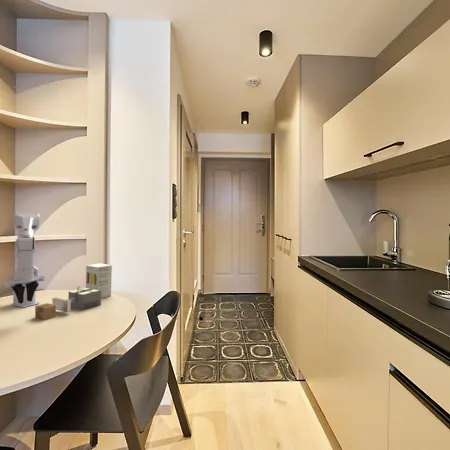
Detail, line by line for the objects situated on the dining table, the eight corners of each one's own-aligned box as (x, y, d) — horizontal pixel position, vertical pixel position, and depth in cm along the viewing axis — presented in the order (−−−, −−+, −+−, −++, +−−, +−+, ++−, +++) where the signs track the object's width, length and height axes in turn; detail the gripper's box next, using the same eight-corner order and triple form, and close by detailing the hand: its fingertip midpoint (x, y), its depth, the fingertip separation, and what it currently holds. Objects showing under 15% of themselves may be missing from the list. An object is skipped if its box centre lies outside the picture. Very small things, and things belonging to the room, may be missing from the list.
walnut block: (35, 317, 132) (35, 305, 132) (46, 314, 136) (46, 303, 136) (44, 320, 129) (44, 308, 129) (55, 316, 134) (55, 305, 134)
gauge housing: (83, 310, 144) (83, 294, 143) (68, 306, 148) (68, 291, 148) (100, 304, 153) (101, 289, 152) (86, 301, 157) (86, 287, 157)
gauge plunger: (67, 312, 136) (67, 291, 136) (52, 308, 141) (52, 288, 141) (87, 306, 146) (88, 287, 146) (73, 302, 150) (73, 284, 150)
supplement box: (84, 296, 166) (85, 265, 165) (99, 293, 174) (100, 263, 173) (97, 299, 161) (97, 266, 161) (111, 295, 169) (112, 264, 169)
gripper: (12, 271, 116) (11, 308, 117) (49, 266, 129) (48, 299, 130) (1, 269, 119) (0, 305, 120) (38, 264, 132) (38, 296, 133)
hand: (25, 301), depth 125 cm, fingers open, 3 cm apart
